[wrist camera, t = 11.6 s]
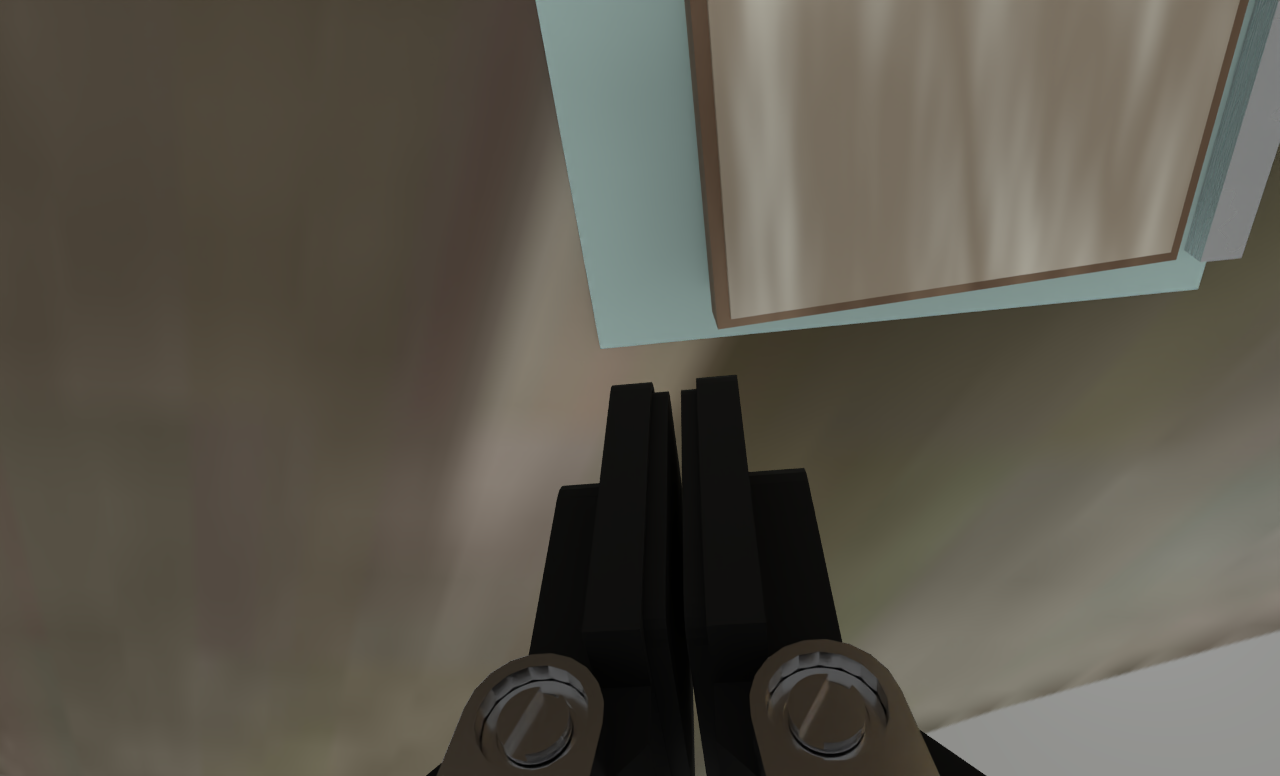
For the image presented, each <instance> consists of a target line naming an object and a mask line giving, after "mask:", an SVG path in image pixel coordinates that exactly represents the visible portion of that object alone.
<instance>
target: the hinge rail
mask: <svg viewBox="0 0 1280 776" xmlns="http://www.w3.org/2000/svg"><path fill="white" fill-rule="evenodd" d="M1279 143H1280V0H1255V3H1254V7H1253V10H1252V14H1251V17H1250V21H1249V24H1248V28H1247V31H1246V35H1245V39H1244V42H1243V46H1242V49H1241V53H1240V56H1239V60H1238V63H1237V67H1236V70H1235V74H1234V77H1233V81H1232V84H1231V88H1230V91H1229V95H1228V98H1227V102H1226V105H1225V109H1224V112H1223V116H1222V119H1221V123H1220V126H1219V130H1218V133H1217V137H1216V141H1215V144H1214V148H1213V151H1212V155H1211V158H1210V162H1209V165H1208V169H1207V172H1206V176H1205V179H1204V183H1203V186H1202V190H1201V193H1200V197H1199V200H1198V204H1197V207H1196V211H1195V214H1194V218H1193V221H1192V225H1191V228H1190V232H1189V235H1188V239H1187V242H1186V246H1185V251H1186V252H1187V253H1189V254H1190V255H1191V256H1193V257H1194V258H1195V259H1197V260H1198V261H1199V262H1208V261H1218V260H1227V259H1237V258H1242V255H1243V252H1244V249H1245V246H1246V243H1247V240H1248V237H1249V234H1250V231H1251V228H1252V225H1253V222H1254V218H1255V215H1256V212H1257V209H1258V206H1259V203H1260V200H1261V197H1262V194H1263V191H1264V188H1265V185H1266V182H1267V179H1268V176H1269V173H1270V170H1271V167H1272V164H1273V161H1274V158H1275V155H1276V152H1277V149H1278V146H1279Z"/></svg>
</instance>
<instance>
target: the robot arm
mask: <svg viewBox="0 0 1280 776" xmlns="http://www.w3.org/2000/svg"><path fill="white" fill-rule="evenodd" d="M696 387H697V389H692V390H681V427H682V483H681V476H680V468H679V461H678V453H677V446H676V438H675V431H674V423H673V416H672V408H671V401H670V395H669V392H657V393H655V392H654V387H653V383H652V382H649V383H637V384H626V385H614V386H612V387H611V391H610V399H609V408H608V416H607V425H606V433H605V441H604V450H603V458H602V467H601V475H600V483H596V484H583V485H569V486H562V487H561V489H560V490H559V494H558V497H557V502H556V508H555V513H554V519H553V524H552V530H551V535H550V541H549V546H548V552H547V557H546V563H545V568H544V574H543V580H542V585H541V591H540V596H539V602H538V607H537V613H536V618H535V624H534V629H533V635H532V640H531V646H530V651H529V655H528V656H525V657H522V658H518V659H515V660H512V661H510V662H508V663H506V664H505V665H503V666H502V667H500V668H498V669H497V670H495V671H493V672H492V673H490V674H489V675H488V676H487V677H486V678H485V680H484V681H483V682H482V683H481V684H480V685H479V686H478V687H477V688H476V689H475V690H474V692H473V693H472V695H471V697H470V699H469V700H468V702H467V704H466V706H465V707H464V709H463V712H462V714H461V717H460V719H459V722H458V724H457V727H456V729H455V731H454V734H453V736H452V739H451V741H450V744H449V746H448V749H447V751H446V754H445V756H444V759H443V761H442V763H441V764H440V765H438V766H437V767H436V768H435V769H434V770H432V771H431V772H430V773H429V774H428V775H426V776H695V758H694V712H693V688H694V695H695V701H696V708H697V715H698V721H699V728H700V734H701V741H702V748H703V754H704V761H705V767H706V774H707V776H986V775H984V774H983V773H981V772H980V771H979V770H977V769H976V768H974V767H973V766H971V765H970V764H968V763H967V762H966V761H964V760H962V759H961V758H959V757H958V756H957V755H955V754H954V753H953V752H951V751H950V750H948V749H947V748H945V747H944V746H942V745H941V744H940V743H938V742H937V741H935V740H934V739H932V738H931V737H929V736H928V735H927V734H925V733H924V732H922V731H921V730H919V728H918V726H917V724H916V721H915V719H914V717H913V715H912V712H911V710H910V708H909V706H908V703H907V701H906V699H905V697H904V694H903V692H902V690H901V688H900V687H899V685H898V684H897V682H896V681H895V679H894V677H893V676H892V674H891V673H890V671H889V670H888V669H887V668H886V667H885V666H884V665H882V664H881V663H880V662H879V661H878V660H877V659H876V658H874V657H873V656H872V655H871V654H869V653H867V652H865V651H863V650H861V649H859V648H857V647H855V646H853V645H851V644H847V643H842V639H841V634H840V629H839V625H838V620H837V615H836V610H835V606H834V601H833V596H832V592H831V587H830V582H829V577H828V573H827V568H826V563H825V558H824V554H823V549H822V544H821V539H820V535H819V530H818V525H817V521H816V516H815V511H814V506H813V502H812V497H811V492H810V487H809V483H808V478H807V475H806V471H805V469H804V468H798V469H784V470H771V471H758V472H748V465H747V457H746V448H745V440H744V431H743V423H742V414H741V406H740V397H739V389H738V381H737V375H729V376H717V377H706V378H696Z"/></svg>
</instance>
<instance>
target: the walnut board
mask: <svg viewBox="0 0 1280 776" xmlns="http://www.w3.org/2000/svg"><path fill="white" fill-rule="evenodd" d="M684 2H685V14H686V25H687V36H688V47H689V59H690V70H691V81H692V92H693V103H694V115H695V126H696V137H697V148H698V160H699V171H700V182H701V193H702V205H703V216H704V227H705V238H706V250H707V261H708V272H709V283H710V295H711V306H712V313H713V316H714V319H715V322H716V325H717V328H718V330H719V329H725V328H732V327H738V326H745V325H752V324H758V323H765V322H771V321H778V320H784V319H791V318H798V317H804V316H811V315H817V314H824V313H830V312H837V311H844V310H850V309H857V308H863V307H870V306H876V305H883V304H890V303H896V302H903V301H909V300H916V299H922V298H929V297H936V296H942V295H949V294H955V293H962V292H968V291H975V290H982V289H988V288H995V287H1001V286H1008V285H1014V284H1021V283H1028V282H1034V281H1041V280H1047V279H1054V278H1060V277H1067V276H1074V275H1080V274H1087V273H1093V272H1100V271H1106V270H1113V269H1119V268H1126V267H1133V266H1139V265H1146V264H1152V263H1159V262H1165V261H1172V260H1176V259H1177V256H1178V252H1179V248H1180V245H1181V241H1182V238H1183V234H1184V231H1185V227H1186V224H1187V220H1188V216H1189V213H1190V209H1191V206H1192V202H1193V199H1194V195H1195V191H1196V188H1197V184H1198V181H1199V177H1200V174H1201V170H1202V166H1203V163H1204V159H1205V156H1206V152H1207V149H1208V145H1209V141H1210V138H1211V134H1212V131H1213V127H1214V124H1215V120H1216V116H1217V113H1218V109H1219V106H1220V102H1221V99H1222V95H1223V91H1224V88H1225V84H1226V81H1227V77H1228V74H1229V70H1230V66H1231V63H1232V59H1233V56H1234V52H1235V49H1236V45H1237V42H1238V38H1239V34H1240V31H1241V27H1242V24H1243V20H1244V17H1245V13H1246V9H1247V6H1248V2H1249V0H684Z"/></svg>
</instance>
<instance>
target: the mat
mask: <svg viewBox="0 0 1280 776" xmlns="http://www.w3.org/2000/svg"><path fill="white" fill-rule="evenodd" d="M1254 3H1255V0H1249V2H1248V6H1247V9H1246V13H1245V17H1244V20H1243V24H1242V27H1241V31H1240V34H1239V38H1238V42H1237V45H1236V49H1235V52H1234V56H1233V59H1232V63H1231V66H1230V70H1229V74H1228V77H1227V81H1226V84H1225V88H1224V91H1223V95H1222V99H1221V102H1220V106H1219V109H1218V113H1217V116H1216V120H1215V124H1214V127H1213V131H1212V134H1211V138H1210V141H1209V145H1208V149H1207V152H1206V156H1205V159H1204V163H1203V166H1202V170H1201V174H1200V177H1199V181H1198V184H1197V188H1196V191H1195V195H1194V199H1193V202H1192V206H1191V209H1190V213H1189V216H1188V220H1187V224H1186V227H1185V231H1184V234H1183V238H1182V241H1181V245H1180V248H1179V252H1178V256H1177V259H1176V260H1172V261H1165V262H1159V263H1152V264H1146V265H1139V266H1133V267H1126V268H1119V269H1113V270H1106V271H1100V272H1093V273H1087V274H1080V275H1074V276H1067V277H1060V278H1054V279H1047V280H1041V281H1034V282H1028V283H1021V284H1014V285H1008V286H1001V287H995V288H988V289H982V290H975V291H968V292H962V293H955V294H949V295H942V296H936V297H929V298H922V299H916V300H909V301H903V302H896V303H890V304H883V305H876V306H870V307H863V308H857V309H850V310H844V311H837V312H830V313H824V314H817V315H811V316H804V317H798V318H791V319H784V320H778V321H771V322H765V323H758V324H752V325H745V326H738V327H732V328H725V329H719V330H718V328H717V325H716V322H715V319H714V316H713V313H712V306H711V295H710V283H709V272H708V261H707V250H706V238H705V227H704V216H703V205H702V193H701V182H700V171H699V160H698V148H697V137H696V126H695V115H694V103H693V92H692V81H691V70H690V59H689V47H688V36H687V25H686V14H685V2H684V0H536V5H537V11H538V16H539V21H540V27H541V32H542V37H543V43H544V48H545V54H546V59H547V64H548V70H549V75H550V80H551V86H552V91H553V97H554V102H555V107H556V113H557V118H558V123H559V129H560V134H561V139H562V145H563V150H564V156H565V161H566V166H567V172H568V177H569V182H570V188H571V193H572V199H573V204H574V209H575V215H576V220H577V225H578V231H579V236H580V242H581V247H582V252H583V258H584V263H585V268H586V274H587V279H588V284H589V290H590V295H591V301H592V306H593V311H594V317H595V322H596V327H597V333H598V338H599V344H600V349H606V348H616V347H626V346H636V345H646V344H656V343H666V342H676V341H686V340H696V339H706V338H716V337H726V336H736V335H746V334H756V333H765V332H775V331H785V330H795V329H805V328H815V327H825V326H835V325H845V324H855V323H865V322H875V321H885V320H895V319H905V318H915V317H925V316H935V315H945V314H955V313H965V312H975V311H985V310H995V309H1005V308H1015V307H1025V306H1035V305H1045V304H1055V303H1065V302H1075V301H1085V300H1095V299H1105V298H1115V297H1125V296H1135V295H1145V294H1155V293H1165V292H1175V291H1185V290H1195V289H1198V288H1199V284H1200V281H1201V278H1202V275H1203V271H1204V268H1205V265H1206V262H1199V261H1198V260H1197V259H1195V258H1194V257H1193V256H1191V255H1190V254H1189V253H1187V252H1186V251H1185V246H1186V242H1187V239H1188V235H1189V232H1190V228H1191V225H1192V221H1193V218H1194V214H1195V211H1196V207H1197V204H1198V200H1199V197H1200V193H1201V190H1202V186H1203V183H1204V179H1205V176H1206V172H1207V169H1208V165H1209V162H1210V158H1211V155H1212V151H1213V148H1214V144H1215V141H1216V137H1217V133H1218V130H1219V126H1220V123H1221V119H1222V116H1223V112H1224V109H1225V105H1226V102H1227V98H1228V95H1229V91H1230V88H1231V84H1232V81H1233V77H1234V74H1235V70H1236V67H1237V63H1238V60H1239V56H1240V53H1241V49H1242V46H1243V42H1244V39H1245V35H1246V31H1247V28H1248V24H1249V21H1250V17H1251V14H1252V10H1253V7H1254Z"/></svg>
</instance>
